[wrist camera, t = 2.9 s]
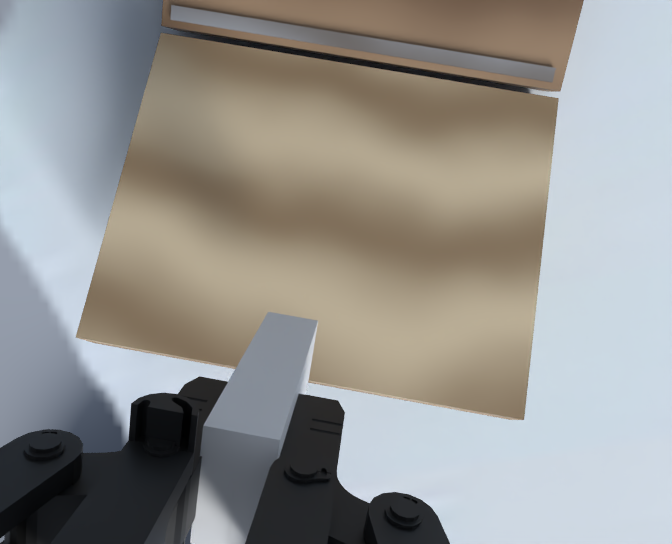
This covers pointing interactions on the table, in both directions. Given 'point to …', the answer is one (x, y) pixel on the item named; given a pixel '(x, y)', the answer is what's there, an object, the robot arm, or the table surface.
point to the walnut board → (404, 33)
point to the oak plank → (331, 222)
